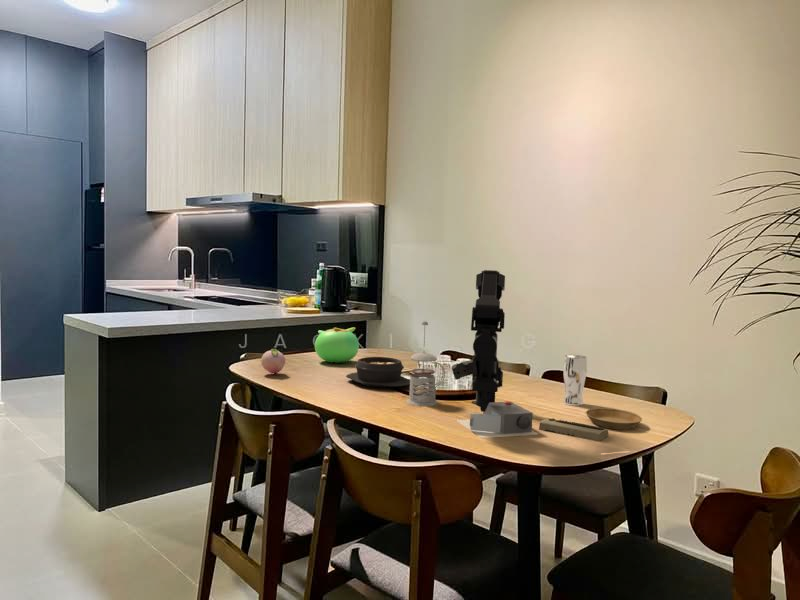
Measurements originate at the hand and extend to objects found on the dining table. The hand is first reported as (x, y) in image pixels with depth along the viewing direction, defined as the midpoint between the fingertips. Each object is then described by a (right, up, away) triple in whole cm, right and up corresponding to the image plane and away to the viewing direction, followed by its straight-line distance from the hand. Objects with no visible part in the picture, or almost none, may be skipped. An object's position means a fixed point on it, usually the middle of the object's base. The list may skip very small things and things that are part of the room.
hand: (482, 411), depth 154 cm
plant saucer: (+38, -6, +11) cm, 40 cm away
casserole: (-29, -1, +51) cm, 59 cm away
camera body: (+7, -5, +3) cm, 8 cm away
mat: (+4, -5, +2) cm, 6 cm away
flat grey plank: (+23, -6, 0) cm, 24 cm away
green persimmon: (-48, +3, +90) cm, 102 cm away
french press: (-14, -3, +28) cm, 31 cm away
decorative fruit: (-68, +2, +61) cm, 91 cm away
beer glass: (+33, -4, +32) cm, 46 cm away
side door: (0, -4, -4) cm, 6 cm away
